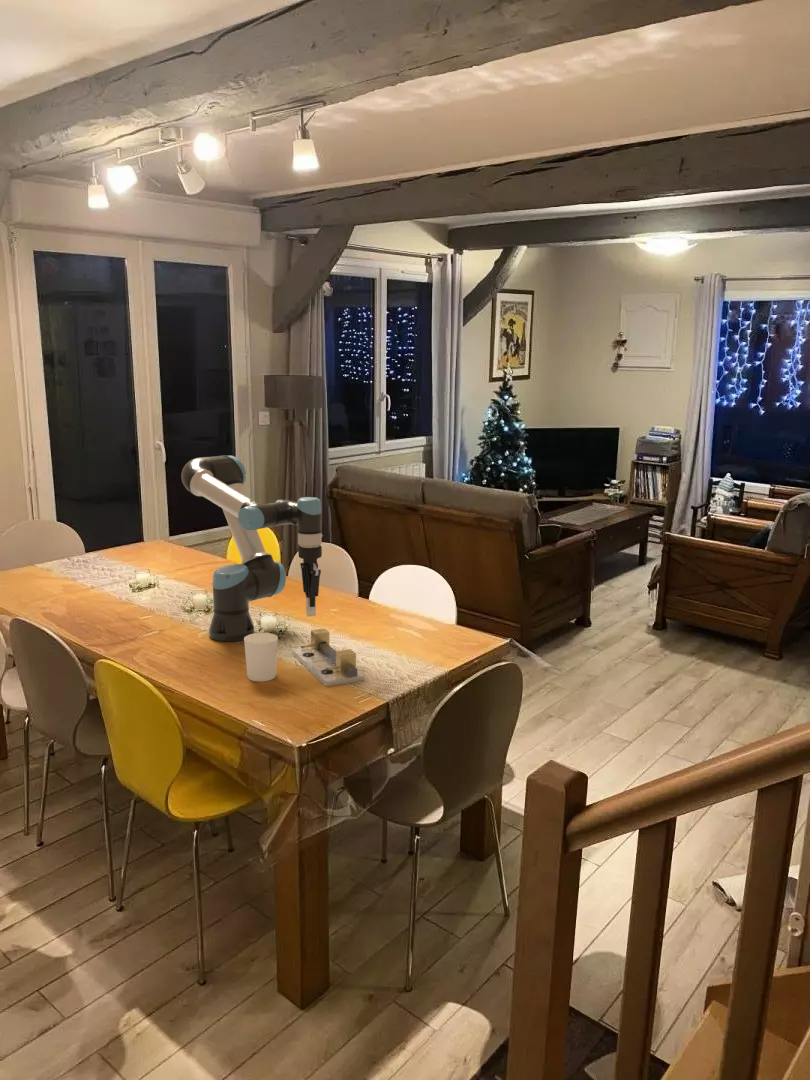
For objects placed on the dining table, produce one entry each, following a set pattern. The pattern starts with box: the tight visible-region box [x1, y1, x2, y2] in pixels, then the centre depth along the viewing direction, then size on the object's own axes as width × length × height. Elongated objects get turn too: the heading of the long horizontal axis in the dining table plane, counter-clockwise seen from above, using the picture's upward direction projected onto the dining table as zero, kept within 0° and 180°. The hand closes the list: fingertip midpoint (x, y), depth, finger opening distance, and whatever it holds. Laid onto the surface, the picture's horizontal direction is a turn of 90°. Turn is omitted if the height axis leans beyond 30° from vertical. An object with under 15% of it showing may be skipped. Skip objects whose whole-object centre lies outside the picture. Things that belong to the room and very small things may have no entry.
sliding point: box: [300, 628, 330, 649], centre depth 263 cm, size 9×4×5 cm, turn 116°
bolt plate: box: [291, 642, 365, 687], centre depth 251 cm, size 12×30×7 cm, turn 26°
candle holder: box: [243, 632, 279, 683], centre depth 242 cm, size 10×10×12 cm
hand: (311, 615), depth 271 cm, fingers closed
